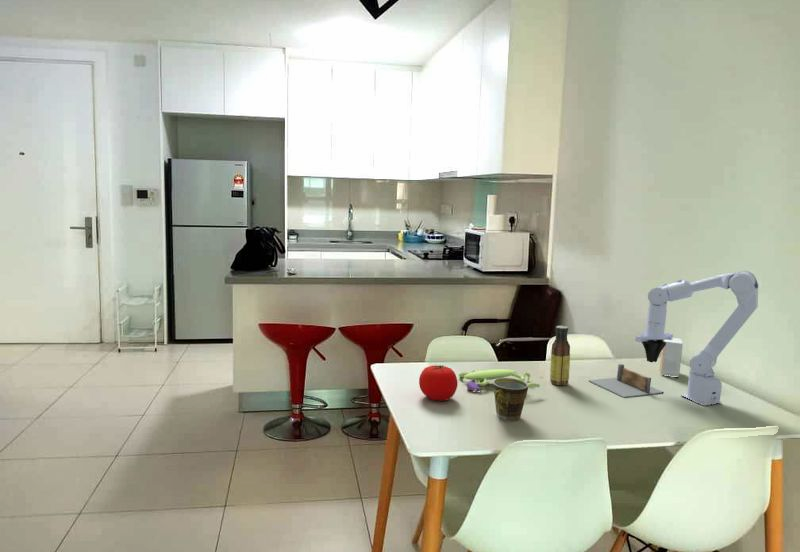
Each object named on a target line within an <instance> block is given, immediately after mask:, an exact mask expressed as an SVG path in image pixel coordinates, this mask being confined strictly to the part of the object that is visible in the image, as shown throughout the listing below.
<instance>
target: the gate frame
mask: <svg viewBox="0 0 800 552" xmlns="http://www.w3.org/2000/svg"><path fill="white" fill-rule="evenodd" d="M623 368H625V365H624V364H623V363H618V364H617V372H616V373H617V375H616V377H608V378H599V379H598V378H597V379H588V382H589V383H591V384H594V385H595V386H598V387H600V388H602V389H604V390H606V391H608V392H611V393H612V394H614V395H616V396H618V397H620V398H623V399H626V398H634V396H635V397H641V395H643V396H648V395H647V394H652V395H655V394H654V393H660V394H662V393H661V392H663V390H660V389H658V388H655V387H653V386H651V382H652V377H650V376H649V377H648V376H647V377H648V382H647V391H644V390H641V389H639V388H637V387H635V386H632V385H630V384H628V383H626V382H623V381H621V379H622V369H623Z"/></svg>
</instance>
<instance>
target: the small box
mask: <svg viewBox="0 0 800 552" xmlns="http://www.w3.org/2000/svg"><path fill="white" fill-rule="evenodd" d="M663 341H664V342H666V345H665V346H664V348H663V349H662V351H661V352H660V361H659V362H660V365H659V374H660V373H661V374H660V376H661V375H668V376H669V375H670V376H679V377H680V374H681V373H680V372H681V363H682V355H683V354H682V353H683V345H684V343H683V340H682V338H677V337H673V339H672V340H663Z"/></svg>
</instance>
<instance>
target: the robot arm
mask: <svg viewBox="0 0 800 552" xmlns="http://www.w3.org/2000/svg"><path fill="white" fill-rule="evenodd" d="M718 287H719V288H721V289H725V290H728V289H730V290H731V292H732V293H733V295H734V296H735V299H736V301H737V304H738V305H737V306H736V308H734V310H733V312H732V313H731V314H730V315H729V317H728V318H727V319H726V321H724V322H723V324H722V326H721V327H720V328H719V329H718V330H717V332H716V333H715V334H714V336H713V337H712V338H711V339H710V341H709V342H707V345H705V347H704V348H703V349H702V350H700V351H698V352H697V353H696V354H695V355H694V356H693V357H692V358H691V359H690V360H689V367H690V369H689V372H688V373H689V374H688V382H687V389H686V393H681V394H680V395H682V396H683V395H684V397H686V398H685V399H687V398H688V399H687V400H689V399H690V401H691V400H692V401H691V402H694V403H696V404H698V403H699V405H701V406H704V407H705V406H711V404H712V405H717V404H716V403H720V404H722V401H721V396H722V395H721V393H722V387H723V386H722V381H721V379H719V378H718V377H716V375H715V371H714V369H713V368H714V367H715V366H716V364H717V360H718V357H719V356H720V354H721V353H722V352H723V350H724V349H725V348H726V347H727V345H729V343H730V342H731V340H732V339H733V338H734V337H735V336H736V335H737V333H738V332H739V330H740V329H742V327H743V326H744V325H745V324H746V322H747V321H748V320H749V318H750V317H751V316H752V315H753V314H754V312H755V311H756V310H757V308H758V306H759V305H758V303H759V287H760V286H759V282H758V280H757V277H756V276H755V274H754V273H753V272H751V271H748V270H742V271H738V272H736V271H735V272H728V273H722V274H718V275H714V276H711V277H707V278H703V279H700V280H696V281H693V282H690V281H689V280H686V279H682V278H681V279H677V280H676V281H675V282H672V283H668V284H667V283H662V284H661V286H660V285H659V286H656V287H654V288H652V289H650V290H649V292H648V294H647V299H648V303H649V304H648V309H647V317H646V327H645V331H644V332H643V333H641V334H637V335H635V342H638V343H641V344H642V346H643V349H644V352H645V356H646V357H645V358H646V362H649V363H656V362H658V359H659V356H661V353H662V349H663V348H664V346H665V345H666V342H664V341H663V340H672V339H673V338H674V334H673V333H669V332H665V329H666V318H667V306H668V302H674V301H679V300H684V299H687V298H691V297H692V296H693V293H695V292H700V291H705V290H710V289H716V288H718ZM682 396H681V397H682ZM684 397H683V398H684Z"/></svg>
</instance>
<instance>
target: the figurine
mask: <svg viewBox="0 0 800 552" xmlns="http://www.w3.org/2000/svg"><path fill="white" fill-rule="evenodd" d="M510 376H512V377H516V379H518V380H522V381H524V382H525V380H526V379H525V378H526V376H527V382H526V383H527V384H528V388H531V387H534V388H535V387H536V388H540V387H541V386H540V383H537V382H529V381H530V377H531V374H530V372H528V371H525V372H524V373H523V375H521V374H519V373H518V372H516V371H515V370H512V369H506V368H505V369H503V368H502V369H500V368H498V369H496V368H495V369H485V370H477V371H475V370H472V371H469V372H466V371H465V372H464V371H462V372H460V373H458V377H459V378H464V379H466V380H470V381H468V382H467V383H466V389H467V390H469V389H470V390H472V391H471V392H473V391H481V390H482V389H481V386H486V385H487V384H488V380H489V381H492V382H493V380H496V379H499V378H509V377H510ZM470 390H469V391H470ZM481 392H482V391H481Z"/></svg>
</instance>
